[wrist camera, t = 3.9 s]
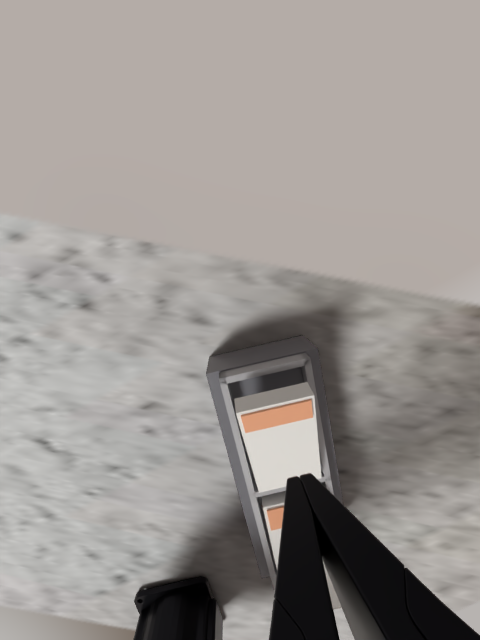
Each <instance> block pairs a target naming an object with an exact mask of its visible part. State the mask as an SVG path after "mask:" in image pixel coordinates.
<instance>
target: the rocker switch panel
mask: <svg viewBox="0 0 480 640" xmlns="http://www.w3.org/2000/svg"><path fill="white" fill-rule="evenodd" d="M206 376H207V379H208V383H209V387H210V390H211V394H212V398H213V401H214V405H215V409H216V412H217V416H218V420H219V423H220V427H221V431H222V434H223V438H224V442H225V445H226V449H227V453H228V457H229V460H230V464H231V468H232V471H233V475H234V479H235V482H236V486H237V490H238V493H239V497H240V501H241V504H242V508H243V512H244V515H245V519H246V523H247V526H248V530H249V534H250V537H251V541H252V545H253V548H254V552H255V556H256V559H257V563H258V567H259V570H260V574H261V578H266V577H271V581H272V585H273V588H274V590H275V585H276V576H277V568H276V564H275V559H274V555H273V550H272V546H271V542H270V537H269V533H268V528H267V524H266V520H265V515H264V511H263V505H262V497H263V496H267V495H271V494H275V493H280V492H284V491H286V487H282V488H278V489H273V490H269V491H265V492H260V493H259V491H258V487H257V484H256V481H255V477H254V474H253V470H252V467H251V463H250V460H249V456H248V453H247V450H246V446H245V443H244V439H243V436H242V432H241V429H240V426H239V422H238V419H237V415H236V410H235V401H234V399H235V398H240V397H244V396H248V395H253V394H257V393H261V392H266V391H270V390H274V389H279V388H283V387H287V386H292V385H296V384H300V383H305V382H308V384H309V386H310V388H311V390H312V392H313V394H314V398H315V409H316V421H317V432H318V444H319V455H320V466H321V478H320V479H318V480H319V481H320V482H321V483H322V484H323V485H324V486H325V487H326V488H327V489H328V490H329V491H330V492H331V493H332V494H333V495H334V496H335V497H336V498H337V499H338V500H339V501H340V502H341V503H342V504H343V499H342V493H341V487H340V481H339V474H338V468H337V462H336V456H335V450H334V444H333V438H332V431H331V425H330V419H329V413H328V407H327V401H326V394H325V388H324V382H323V376H322V370H321V364H320V358H319V351H318V348H317V347H316V346H315V345H314V344H313V343H311V342H310V341H309V340H308V339H307V338H306V337H305V336H303V335H302V336H297V337H293V338H289V339H284V340H280V341H276V342H271V343H267V344H262V345H258V346H254V347H249V348H245V349H241V350H236V351H232V352H228V353H223V354H219V355H215V356H210V357H209V362H208V367H207V372H206Z"/></svg>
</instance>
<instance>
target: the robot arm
mask: <svg viewBox="0 0 480 640" xmlns="http://www.w3.org/2000/svg"><path fill="white" fill-rule="evenodd" d="M322 559H323V560H322ZM323 562H324V564H323ZM324 565H325V567H326V570H327V572H328V575H329V577H330V580H331V582H332V585H333V587H334V589H335V592H336V594H337V597H338V599H339V602H340V604H341V607H342V609H343V612H344V614H345V617H346V619H347V621H348V624H349V626H350V629H351V631H352V634H353V636H354V639H355V640H480V635H479V634H478V633H476V632H475V631H474V630H473V629H472V628H471V627H470V626H468V625H467V624H466V623H465V622H464V621H463V620H462V619H460V618H459V617H458V616H457V615H456V614H455V613H454V612H453V611H451V610H450V609H449V608H448V607H447V606H446V605H445V604H444V603H443V602H442V601H441V600H439V599H438V598H437V597H436V596H435V595H434V594H433V593H432V592H431V591H430V590H429V589H428V588H427V587H426V586H425V585H424V584H423V583H422V582H421V581H420V580H419V579H418V578H417V577H416V576H415V575H414V574H413V573H412V572H411V571H410V570H409V569H407V568H404V565H403V564H402V563H401V562H400V561H399V560H398V559H397V558H396V557H395V556H394V555H393V554H392V553H391V552H390V551H389V550H388V549H387V548H386V547H385V546H384V545H383V544H382V543H381V542H380V541H379V540H378V539H377V538H376V537H375V536H374V535H373V534H372V533H371V532H370V531H369V530H368V529H367V528H366V527H365V526H364V525H363V524H362V523H361V522H360V521H359V520H358V519H357V518H356V517H355V516H354V515H353V514H352V513H351V512H350V511H349V510H348V509H347V508H346V507H345V506H344V505H343V504H342V503H341V502H340V501H339V500H338V499H337V498H336V497H335V496H334V495H333V494H332V493H331V492H330V491H329V490H328V489H327V488H326V487H325V486H324V485H323V484H322V483H321V482H320V481H319V480H318V479H317V478H316V477H315V476H314V475H313V474H311V473H307V474H303V475H300V477H299V476H294V477H290V478H288V479H287V483H286V492H285V501H284V511H283V520H282V529H281V538H280V548H279V557H278V566H277V576H276V585H275V594H274V597H275V599H274V602H273V611H272V620H271V627H270V635H269V640H339V635H338V631H337V626H336V621H335V616H334V612H333V607H332V602H331V597H330V593H329V588H328V583H327V578H326V574H325V569H324ZM134 602H135V605H136V607H137V609H138V612H139V614H140V616H139V620H138V624H137V628H136V632H135V636H134V640H222V630H223V619H222V615H221V612H220V609H219V606H218V603H217V601H216V599H215V598H213V595H212V592H211V589H210V586H209V583H208V580H207V579H206V578H205V577H198V578H194V579H190V580H185V581H181V582H177V583H173V584H168V585H164V586H160V587H156V588H151V589H147V590H143V591H139V592H137V594H136V597H135V600H134Z"/></svg>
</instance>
